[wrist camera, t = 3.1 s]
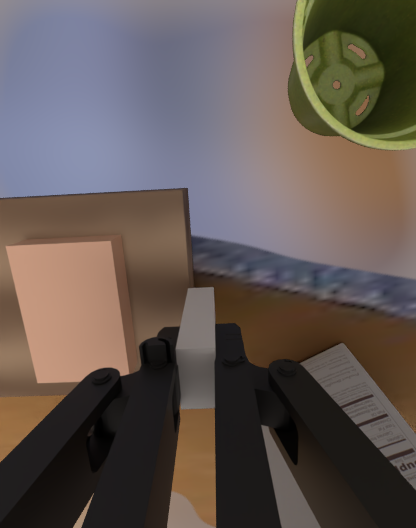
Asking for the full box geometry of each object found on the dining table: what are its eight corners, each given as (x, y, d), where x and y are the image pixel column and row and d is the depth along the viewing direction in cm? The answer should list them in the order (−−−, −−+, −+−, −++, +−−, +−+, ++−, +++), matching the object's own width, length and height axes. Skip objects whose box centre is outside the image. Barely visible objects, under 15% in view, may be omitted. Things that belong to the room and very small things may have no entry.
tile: (137, 361, 21) (130, 379, 19) (53, 365, 22) (37, 383, 20) (121, 234, 19) (110, 240, 17) (26, 239, 19) (5, 246, 17)
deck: (199, 358, 26) (196, 390, 22) (-10, 366, 26) (-48, 398, 22) (187, 187, 22) (182, 189, 18) (-56, 201, 23) (-111, 205, 19)
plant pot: (235, 117, 21) (249, 76, 12) (313, -32, 19) (395, -205, 10) (348, 186, 22) (431, 190, 14) (435, 53, 20) (600, -41, 11)
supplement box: (243, 386, 27) (292, 713, 10) (342, 338, 25) (579, 629, 9) (293, 462, 29) (398, 833, 12) (387, 422, 27) (643, 780, 11)
